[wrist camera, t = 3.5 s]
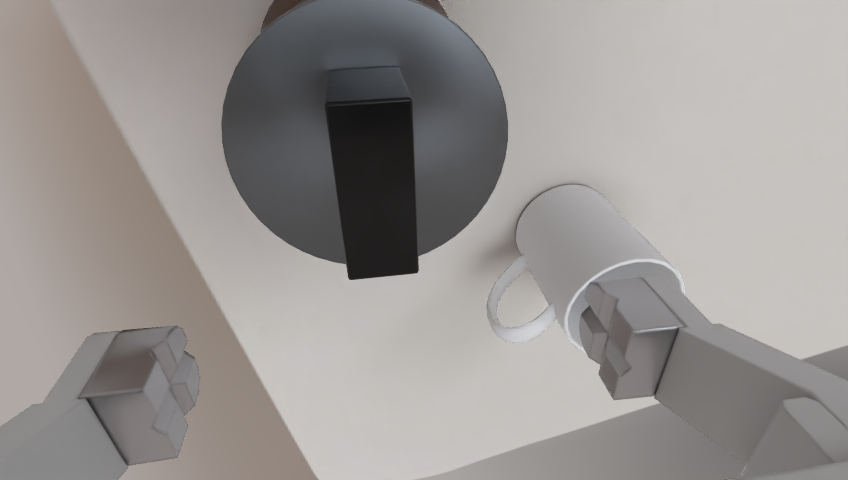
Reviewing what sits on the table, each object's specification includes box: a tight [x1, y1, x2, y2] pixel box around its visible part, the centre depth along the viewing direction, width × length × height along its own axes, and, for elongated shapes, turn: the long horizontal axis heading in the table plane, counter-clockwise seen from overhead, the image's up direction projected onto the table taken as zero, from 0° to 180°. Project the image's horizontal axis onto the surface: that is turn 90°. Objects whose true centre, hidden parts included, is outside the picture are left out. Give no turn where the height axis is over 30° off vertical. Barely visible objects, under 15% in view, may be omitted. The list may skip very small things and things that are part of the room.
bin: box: [222, 0, 508, 280], centre depth 21 cm, size 11×11×17 cm
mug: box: [487, 185, 685, 352], centre depth 34 cm, size 12×8×10 cm, turn 108°
